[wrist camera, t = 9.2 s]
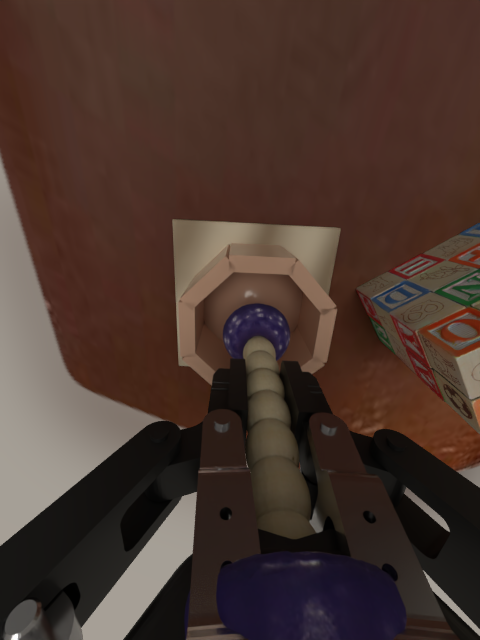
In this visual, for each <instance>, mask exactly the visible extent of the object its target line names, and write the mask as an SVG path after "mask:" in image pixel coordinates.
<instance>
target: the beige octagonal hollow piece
mask: <svg viewBox="0 0 480 640" xmlns="http://www.w3.org/2000/svg"><path fill="white" fill-rule="evenodd" d="M254 303H260V304H265V305H270V306H272V307H274V308H276V309H278V310H279V311H280V312H281V313H282V314H283V315H284V316H285V318H286V320H287V322H288V325H289V328H290V341H289V345H288V347H287V350H286V351H285V353H284V354H283V355H282V357H281V358H280V359H279V360H277V363H278V365H279V371H280V367H281V362H282V360H284V361H298V362H299V365H300V367H301V370H302V372H309V373H311V374H313V373H314V372H316V371H317V370H319V369H320V368H321V367H323V366H324V365H325V364H324V363H323V362H326V363H327V358H328V353H329V348H330V343H331V338H332V333H333V328H334V323H335V318H336V313H337V308H336V305H335V304H334V302H333V301H332V300H331V299H330V297H329V296H328V295H327V294H326V292H325V291H324V290H323V289H322V288H321V286H320V285H319V284H318V283H317V281H316V280H315V279H314V278H313V276H312V275H311V274H310V273H309V272H308V270H307V269H306V268H305V267H304V265H303V264H302V263H301V262H300V260H299V259H297V258H296V257H295V256H294V255H293V254H291V253H290V252H289V251H288V250H286V249H285V248H284V247H282V246H281V245H262V244H243V243H231V246H230V245H229V244H228V245H227V246H226V247H225V248H224V249H223V250H222V251H221V252H220V253H219V254H217V255H216V256H215V257H214V258H213V259H212V260H211V261H210V262H209V263H208V264H207V265H206V266H205V267H204V268H203V269H202V270H201V271H200V272H199V273H197V274H196V275H195V276H194V278H193V279H192V281H191V282H190V284H189V285H188V287H187V288H186V290H185V292H184V293H183V295H182V296H181V298H180V300H179V302H178V306H179V331H180V356H181V357H183V358H182V360H183V361H184V362H185V363H187V364H188V365H189V366H190V367H191V368H192V369H193V370H195V371H196V372H197V373H198V374H199V375H200V376H201V377H203V378H204V379H205V380H206V381H207V382H208V383H209V384H211V385H212V380H213V374H214V373H215V372H216V371H217V370H218V368H224V369H230V358H232V357H231V356H230V354H229V353H228V351H227V350H226V348H225V345H224V341H223V328H224V325H225V322H226V320H227V319H228V317H229V316H230V315H231V314H232V313H233V312H234V311H235V310H237V309H238V308H240V307H242V306H244V305H247V304H254ZM279 375H280V374H279Z"/></svg>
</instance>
